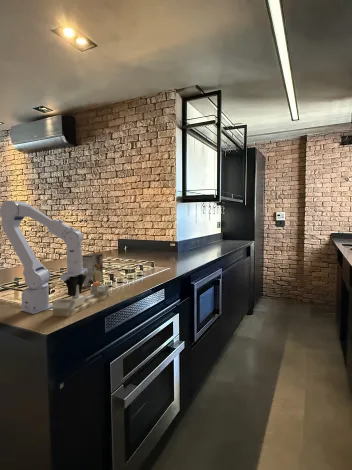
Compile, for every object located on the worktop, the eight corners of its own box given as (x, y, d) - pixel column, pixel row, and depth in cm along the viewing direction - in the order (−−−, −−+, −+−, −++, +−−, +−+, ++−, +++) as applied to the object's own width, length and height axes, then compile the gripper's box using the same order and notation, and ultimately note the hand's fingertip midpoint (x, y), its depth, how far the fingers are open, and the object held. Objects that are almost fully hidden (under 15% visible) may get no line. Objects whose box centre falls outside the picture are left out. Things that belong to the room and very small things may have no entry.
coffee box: (93, 282, 161) (92, 253, 159) (103, 283, 159) (102, 253, 157) (82, 286, 152) (82, 255, 150) (93, 287, 150) (92, 256, 148)
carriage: (75, 307, 115) (75, 287, 114) (66, 306, 116) (65, 286, 115) (85, 303, 120) (84, 283, 119) (76, 301, 122) (75, 282, 121)
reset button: (97, 289, 133) (97, 282, 133) (93, 288, 134) (93, 282, 133) (100, 288, 135) (100, 281, 135) (96, 287, 136) (96, 281, 136)
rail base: (68, 317, 109) (67, 303, 108) (52, 315, 111) (52, 301, 110) (108, 296, 135) (108, 285, 135) (95, 294, 137) (95, 283, 137)
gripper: (70, 264, 108) (71, 300, 110) (93, 258, 122) (94, 290, 123) (55, 263, 111) (56, 298, 112) (79, 257, 124) (80, 288, 126)
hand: (75, 294), depth 118 cm, fingers closed on carriage, 3 cm apart
